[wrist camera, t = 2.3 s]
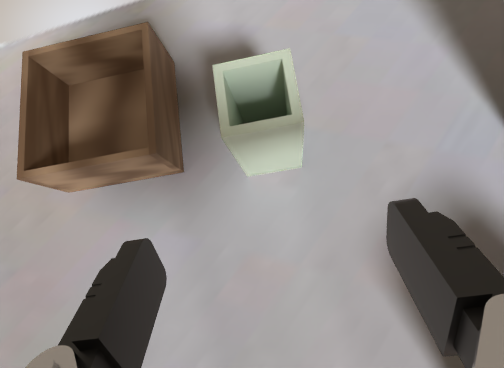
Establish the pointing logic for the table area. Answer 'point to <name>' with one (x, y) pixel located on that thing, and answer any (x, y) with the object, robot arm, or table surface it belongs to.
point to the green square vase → (260, 112)
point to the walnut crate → (99, 111)
